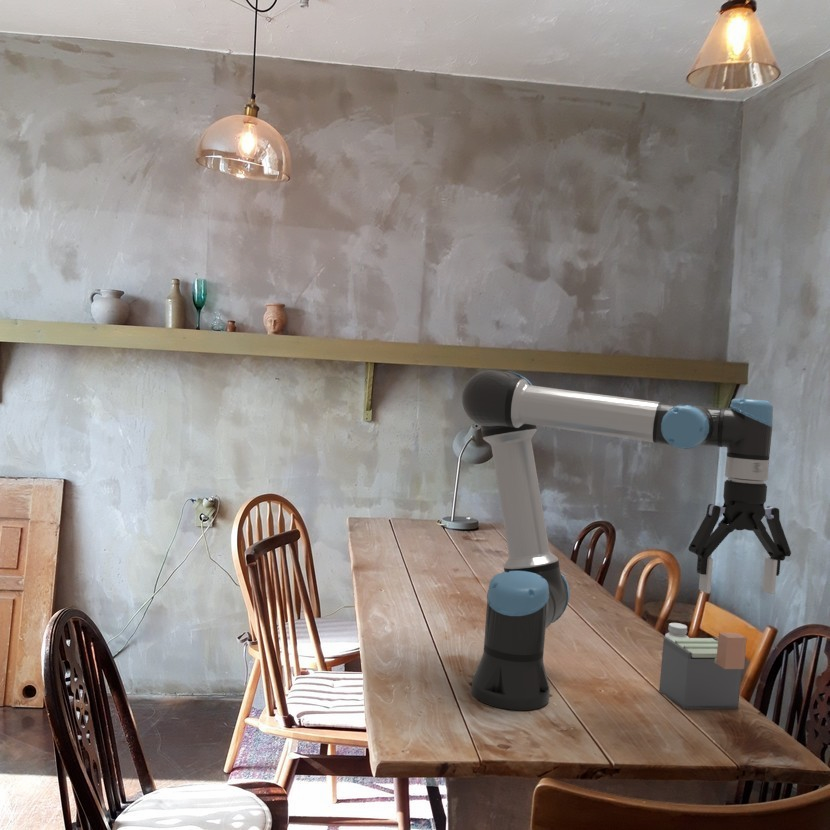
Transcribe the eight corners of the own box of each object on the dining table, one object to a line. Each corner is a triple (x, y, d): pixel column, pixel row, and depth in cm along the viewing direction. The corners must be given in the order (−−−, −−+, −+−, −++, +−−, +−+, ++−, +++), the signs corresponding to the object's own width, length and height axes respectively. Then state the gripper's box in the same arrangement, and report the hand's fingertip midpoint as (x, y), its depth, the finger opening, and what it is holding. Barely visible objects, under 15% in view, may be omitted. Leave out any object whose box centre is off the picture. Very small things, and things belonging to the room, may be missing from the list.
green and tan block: (710, 669, 155) (713, 637, 155) (667, 641, 171) (670, 613, 170) (758, 669, 157) (761, 637, 157) (711, 641, 173) (714, 613, 172)
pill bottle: (658, 663, 188) (662, 621, 188) (681, 664, 189) (684, 622, 189) (667, 671, 183) (671, 628, 183) (691, 672, 184) (695, 629, 183)
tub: (683, 709, 161) (688, 652, 161) (659, 690, 171) (663, 637, 170) (738, 708, 164) (743, 653, 164) (711, 690, 173) (716, 637, 173)
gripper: (697, 480, 150) (687, 596, 151) (817, 486, 155) (807, 597, 156) (675, 475, 157) (666, 585, 158) (790, 480, 163) (781, 587, 163)
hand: (736, 592), depth 157 cm, fingers open, 13 cm apart
